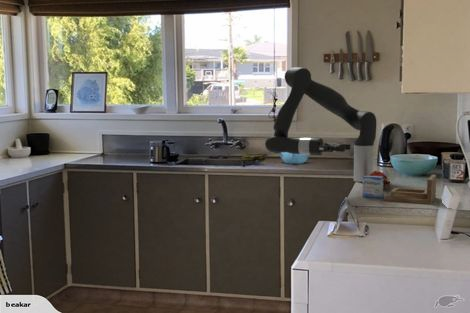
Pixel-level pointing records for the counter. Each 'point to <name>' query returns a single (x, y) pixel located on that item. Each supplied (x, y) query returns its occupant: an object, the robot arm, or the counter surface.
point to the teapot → (293, 158)
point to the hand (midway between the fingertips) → (347, 148)
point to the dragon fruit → (378, 173)
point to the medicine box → (373, 186)
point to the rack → (414, 193)
